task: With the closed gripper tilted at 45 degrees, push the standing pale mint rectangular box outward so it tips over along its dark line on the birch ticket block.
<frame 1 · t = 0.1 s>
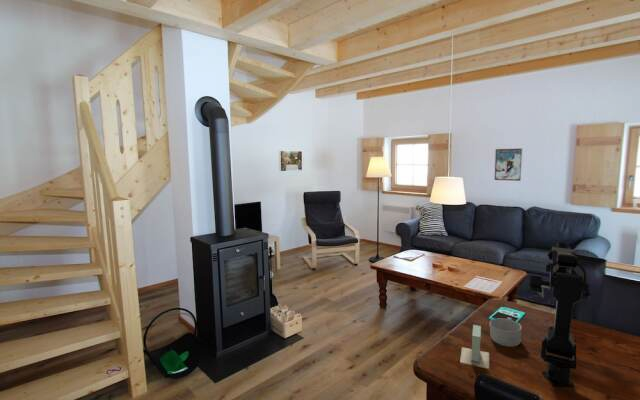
hand: (556, 299, 134), 15 cm above the table, tool tilted 35°, fingers open, 9 cm apart
handheld game console: (507, 318, 152), on the table
teacup: (506, 342, 133), on the table
pale mint rectangular box: (476, 344, 120), point 7 cm above the table, hinge at 0.0°
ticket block: (471, 360, 121), on the table
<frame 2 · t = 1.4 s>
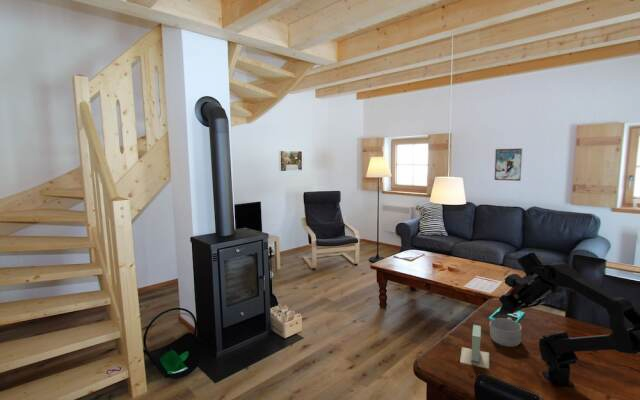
hand: (507, 310, 125), 15 cm above the table, tool tilted 40°, fingers open, 9 cm apart
nothing on the table moved.
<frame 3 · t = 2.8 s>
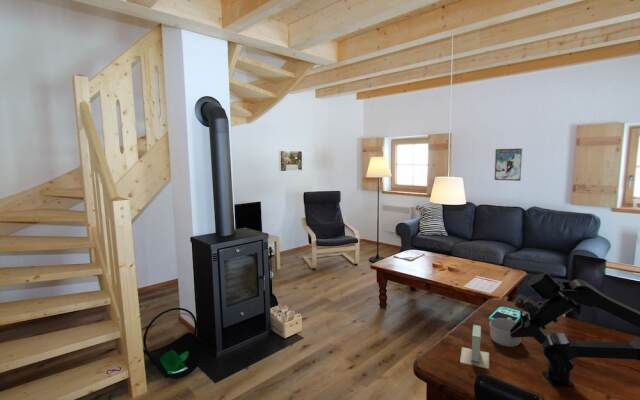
hand: (510, 334, 115), 13 cm above the table, tool tilted 45°, fingers closed
nothing on the table moved.
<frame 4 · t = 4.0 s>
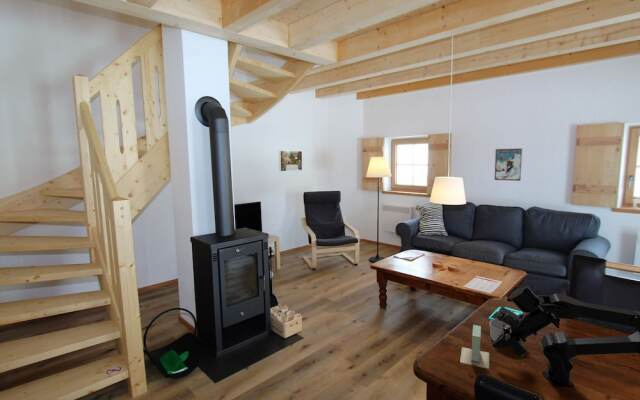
hand: (493, 346, 118), 7 cm above the table, tool tilted 45°, fingers closed
nothing on the table moved.
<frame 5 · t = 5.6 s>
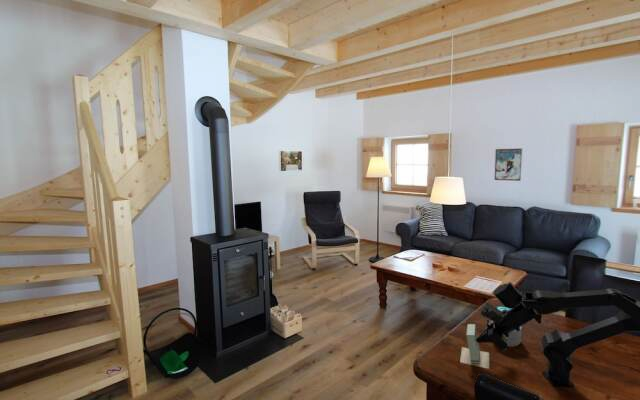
hand: (477, 341, 120), 8 cm above the table, tool tilted 45°, fingers closed, pressing on pale mint rectangular box
pale mint rectangular box: (473, 343, 120), point 7 cm above the table, hinge at 10.6°, touching gripper
everything else where it was.
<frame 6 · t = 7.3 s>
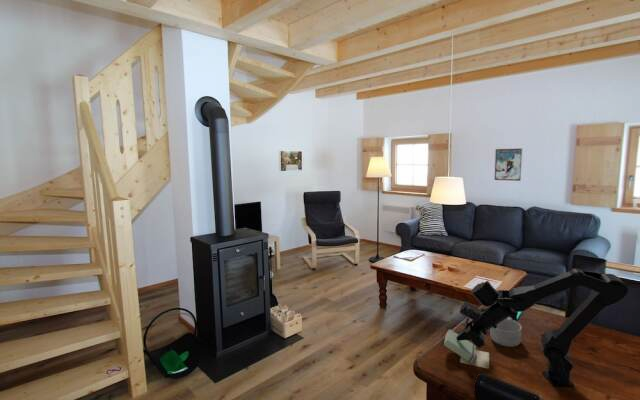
hand: (457, 338, 123), 7 cm above the table, tool tilted 45°, fingers closed
pale mint rectangular box: (459, 345, 123), point 5 cm above the table, hinge at 63.5°
everything else where it was.
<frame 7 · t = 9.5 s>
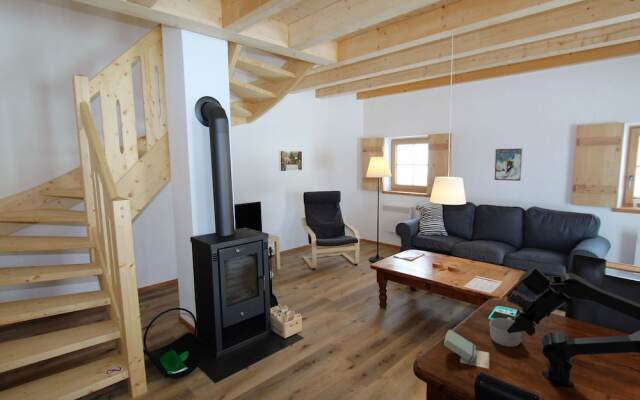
hand: (508, 331, 116), 13 cm above the table, tool tilted 40°, fingers closed
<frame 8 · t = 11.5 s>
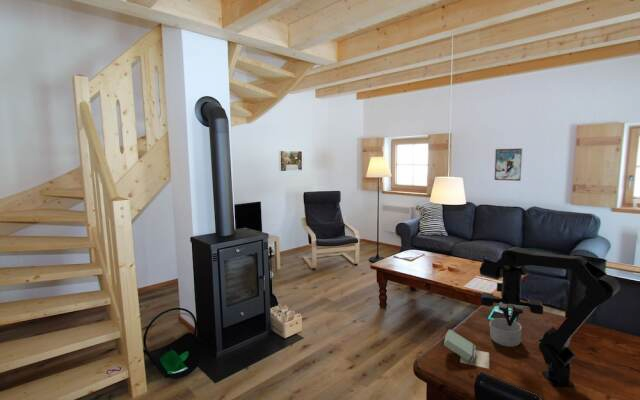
hand: (509, 325, 121), 12 cm above the table, tool pointing down, fingers closed
at the end: pale mint rectangular box at +64° (first picture: +0°); teacup moved 0.3 cm from its start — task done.
